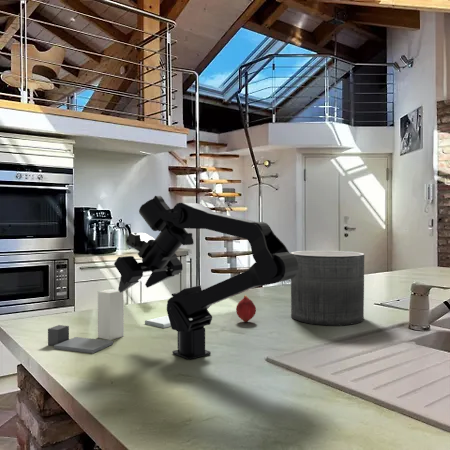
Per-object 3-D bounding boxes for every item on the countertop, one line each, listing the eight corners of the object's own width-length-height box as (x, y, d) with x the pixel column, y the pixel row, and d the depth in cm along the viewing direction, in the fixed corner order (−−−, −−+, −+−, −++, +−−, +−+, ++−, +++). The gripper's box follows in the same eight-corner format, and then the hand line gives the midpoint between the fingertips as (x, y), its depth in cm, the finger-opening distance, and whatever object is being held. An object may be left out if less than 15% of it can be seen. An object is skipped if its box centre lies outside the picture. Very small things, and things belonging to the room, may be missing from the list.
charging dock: (112, 344, 112) (112, 327, 112) (93, 353, 104) (93, 335, 104) (64, 338, 116) (64, 323, 116) (42, 347, 109) (42, 330, 109)
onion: (259, 322, 135) (259, 295, 135) (247, 325, 131) (247, 297, 131) (244, 319, 139) (244, 293, 139) (232, 322, 135) (232, 295, 135)
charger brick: (123, 336, 119) (123, 290, 119) (110, 340, 115) (109, 293, 115) (111, 333, 122) (111, 289, 122) (98, 337, 118) (97, 291, 118)
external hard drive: (144, 325, 133) (175, 318, 143) (163, 329, 128) (194, 321, 137) (144, 320, 133) (175, 312, 143) (163, 324, 128) (194, 316, 137)
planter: (306, 328, 128) (306, 257, 127) (281, 312, 149) (281, 251, 149) (378, 324, 132) (378, 255, 132) (343, 309, 154) (343, 250, 153)
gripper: (173, 220, 118) (143, 261, 124) (119, 221, 102) (87, 268, 109) (197, 251, 114) (165, 292, 120) (145, 257, 98) (110, 304, 104)
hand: (133, 288), depth 113 cm, fingers open, 9 cm apart
